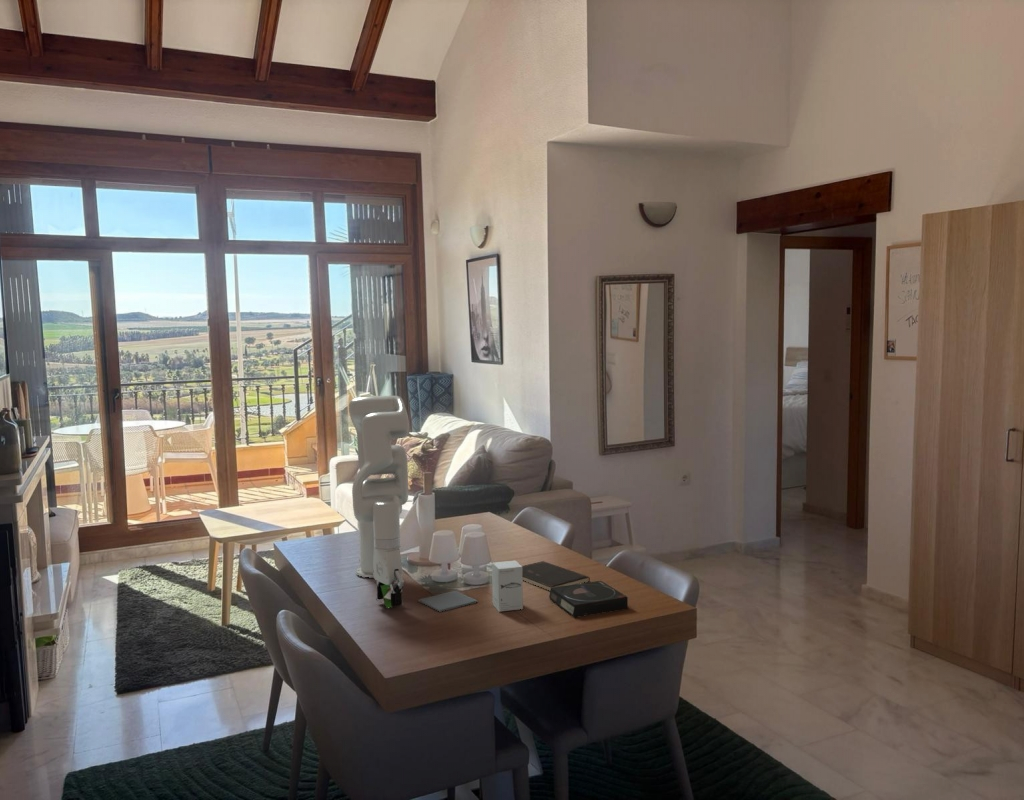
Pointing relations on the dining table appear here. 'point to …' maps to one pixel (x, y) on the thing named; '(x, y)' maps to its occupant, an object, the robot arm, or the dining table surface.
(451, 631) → the dining table surface
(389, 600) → the geometric puzzle
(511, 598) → the supplement box
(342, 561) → the dining table surface
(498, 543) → the dining table surface
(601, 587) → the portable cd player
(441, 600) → the mat
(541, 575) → the hardcover book
